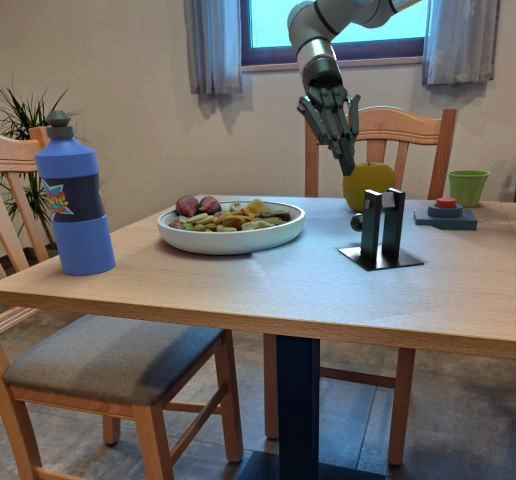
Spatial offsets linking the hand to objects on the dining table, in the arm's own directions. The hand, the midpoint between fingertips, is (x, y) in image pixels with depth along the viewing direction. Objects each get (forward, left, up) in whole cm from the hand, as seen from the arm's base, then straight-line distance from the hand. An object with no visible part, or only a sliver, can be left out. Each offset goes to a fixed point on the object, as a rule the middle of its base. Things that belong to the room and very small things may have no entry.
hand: (349, 171), depth 86 cm
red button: (-20, -16, -10) cm, 27 cm away
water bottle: (+43, +23, -13) cm, 51 cm away
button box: (-20, -16, -13) cm, 29 cm away
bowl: (+23, +1, -13) cm, 27 cm away
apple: (-3, -30, -13) cm, 33 cm away
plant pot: (-26, -32, -13) cm, 43 cm away
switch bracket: (-7, +13, -13) cm, 20 cm away
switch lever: (-5, +10, -7) cm, 13 cm away
